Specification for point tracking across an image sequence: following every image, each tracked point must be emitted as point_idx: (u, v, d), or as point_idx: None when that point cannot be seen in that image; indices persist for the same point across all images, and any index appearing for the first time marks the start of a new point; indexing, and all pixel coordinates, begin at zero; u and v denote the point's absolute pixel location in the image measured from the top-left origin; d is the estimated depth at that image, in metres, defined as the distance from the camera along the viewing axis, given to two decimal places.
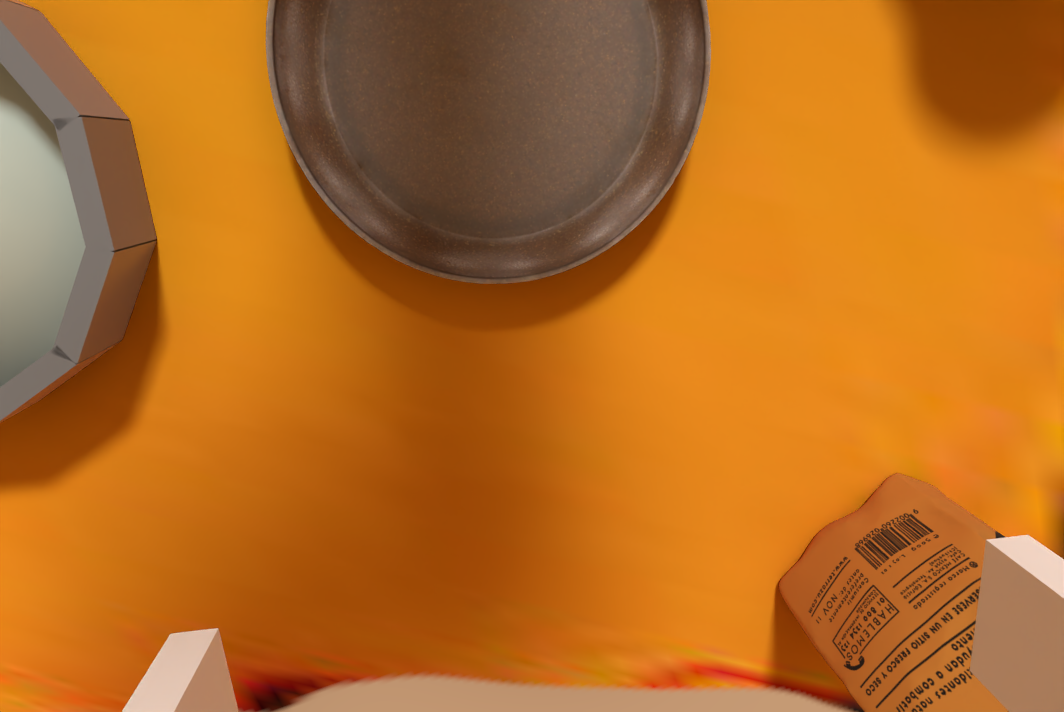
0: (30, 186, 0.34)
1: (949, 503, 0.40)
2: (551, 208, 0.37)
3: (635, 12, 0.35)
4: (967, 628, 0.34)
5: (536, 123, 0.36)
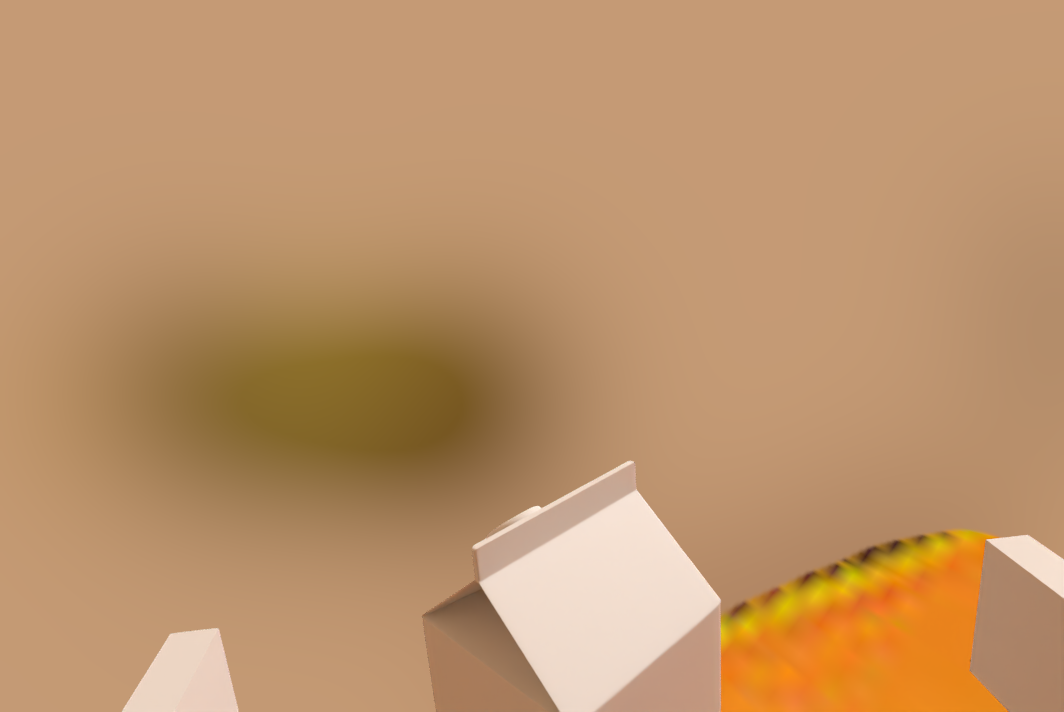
0: None
1: None
2: None
3: None
4: None
5: None
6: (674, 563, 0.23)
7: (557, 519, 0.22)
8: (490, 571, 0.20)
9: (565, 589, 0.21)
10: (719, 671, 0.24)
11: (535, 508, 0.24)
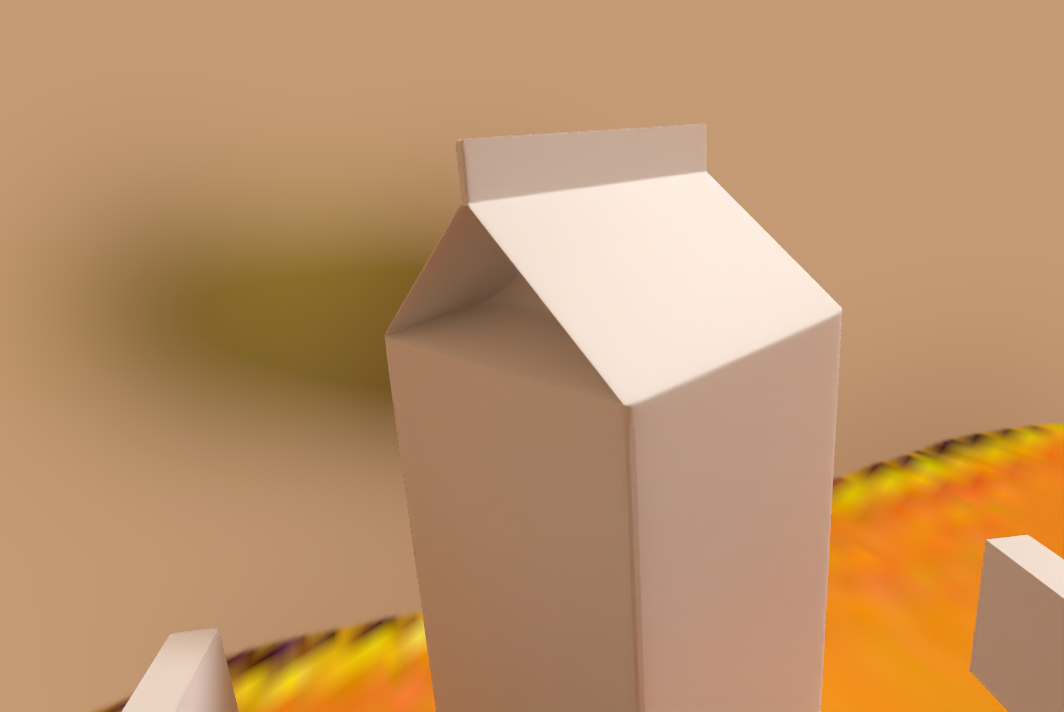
0: None
1: None
2: None
3: None
4: None
5: None
6: (769, 255, 0.15)
7: (594, 157, 0.14)
8: (487, 192, 0.12)
9: (608, 243, 0.13)
10: (833, 429, 0.16)
11: None
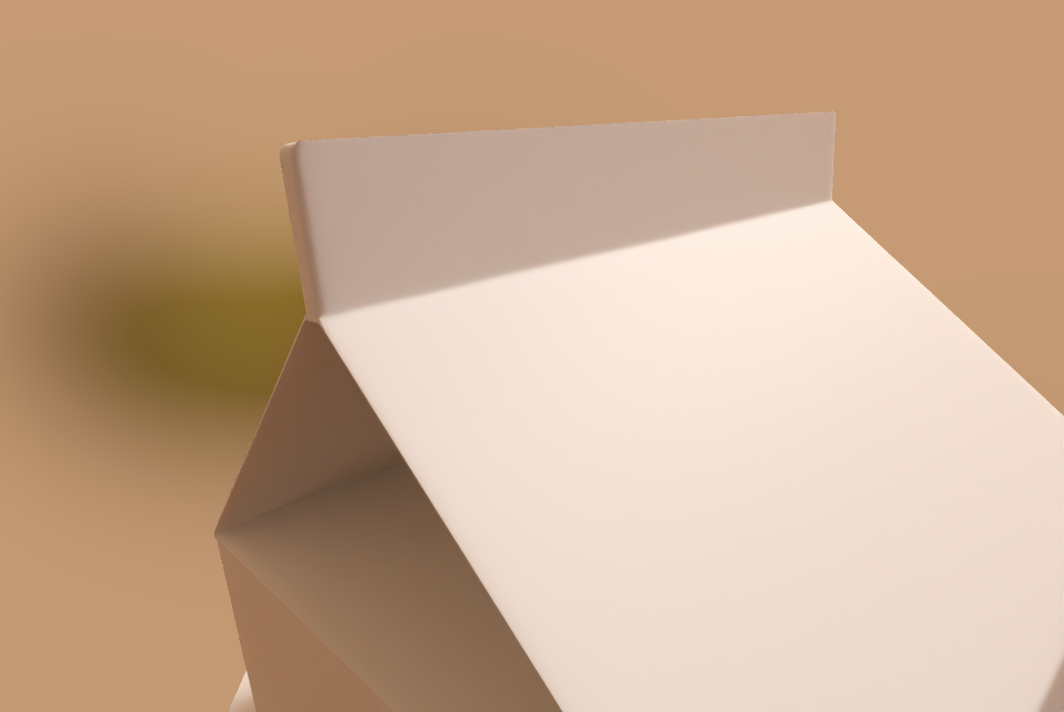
0: None
1: None
2: None
3: None
4: None
5: None
6: (984, 373, 0.08)
7: (639, 180, 0.06)
8: (376, 282, 0.05)
9: (684, 394, 0.05)
10: None
11: None
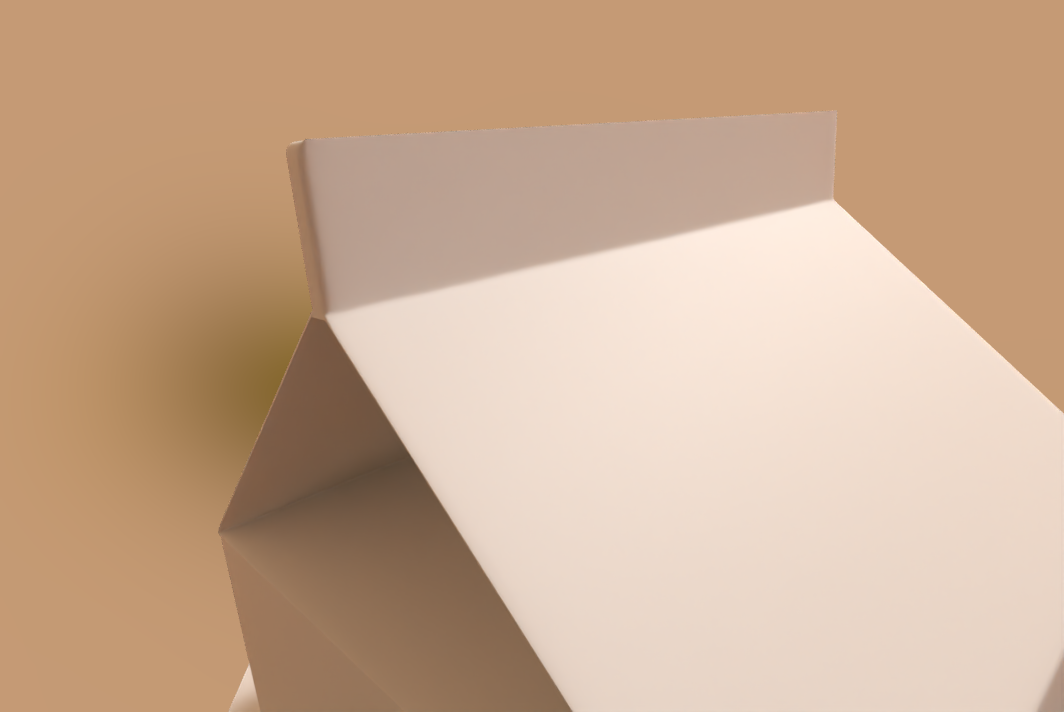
0: None
1: None
2: None
3: None
4: None
5: None
6: (985, 371, 0.08)
7: (642, 179, 0.06)
8: (382, 280, 0.05)
9: (687, 391, 0.05)
10: None
11: None
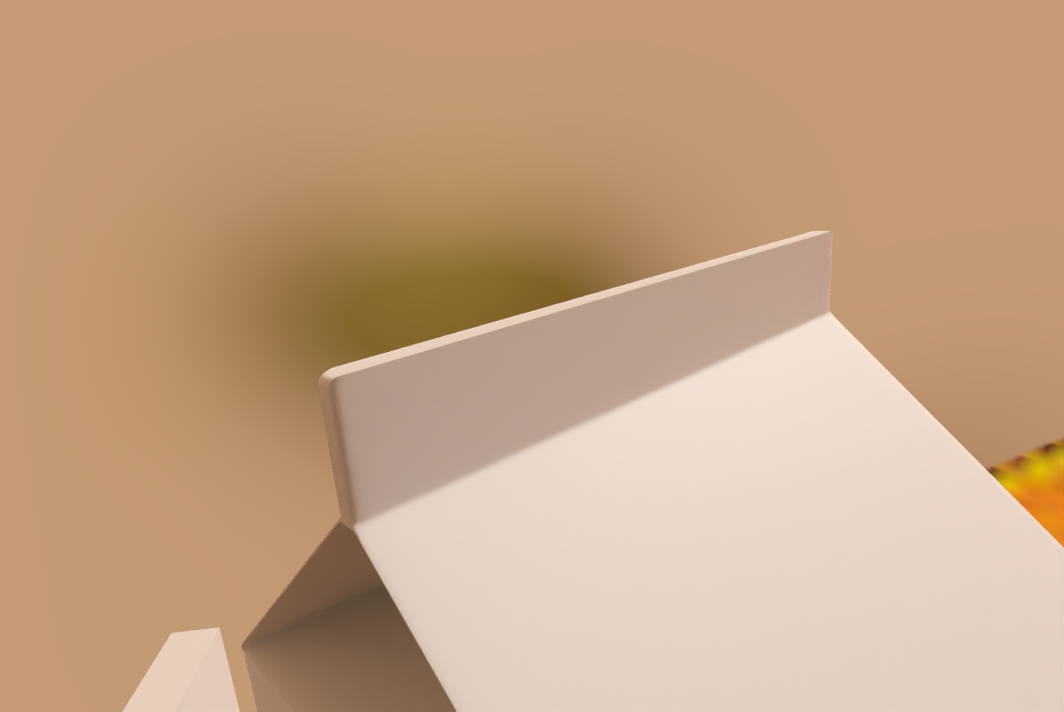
0: None
1: None
2: None
3: None
4: None
5: None
6: (974, 496, 0.08)
7: (646, 337, 0.07)
8: (404, 484, 0.05)
9: (689, 563, 0.06)
10: None
11: None
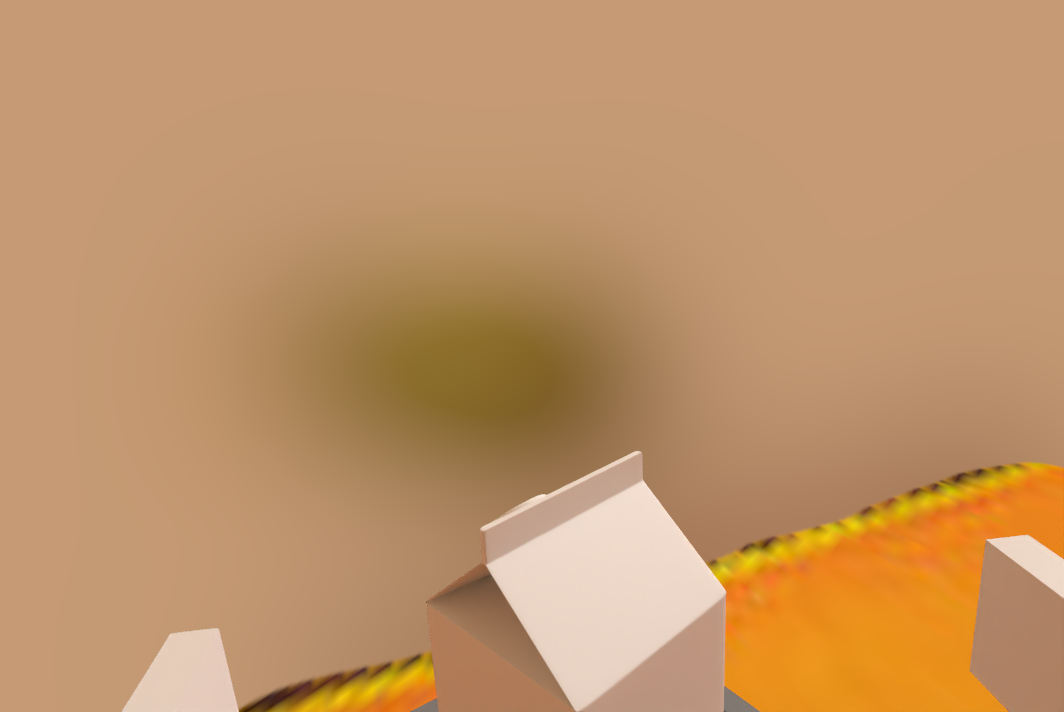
0: None
1: None
2: None
3: None
4: None
5: None
6: (680, 553, 0.23)
7: (564, 505, 0.22)
8: (497, 554, 0.20)
9: (571, 575, 0.21)
10: (722, 664, 0.24)
11: (541, 496, 0.24)
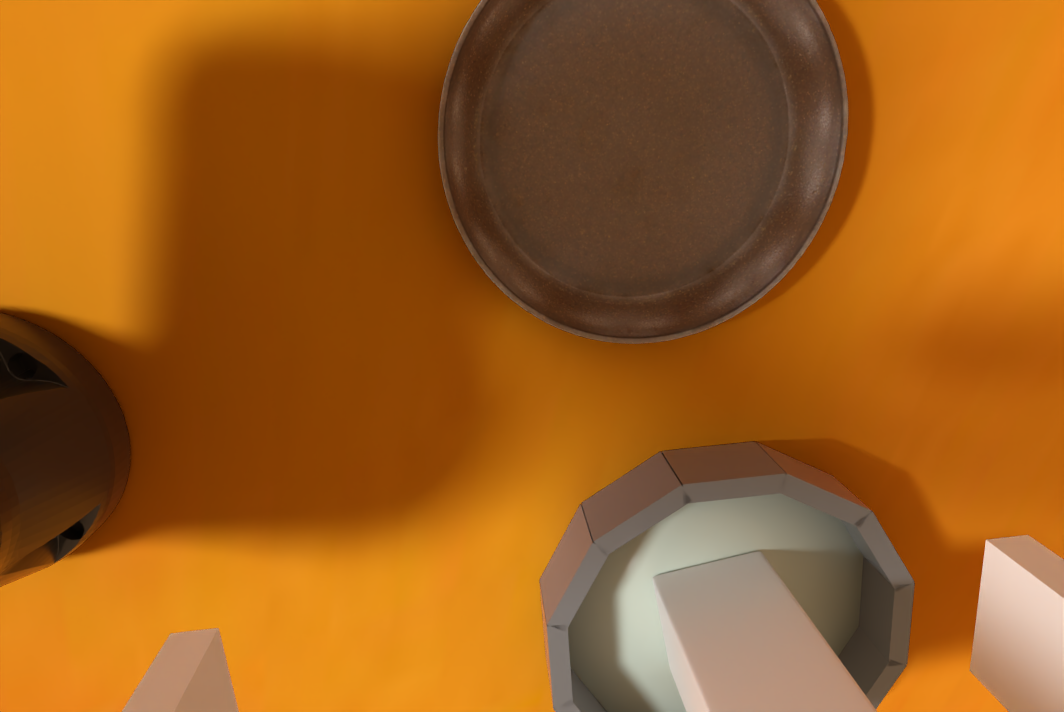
0: (710, 526, 0.43)
1: None
2: (765, 84, 0.37)
3: None
4: None
5: (684, 100, 0.37)
6: None
7: None
8: None
9: None
10: None
11: None
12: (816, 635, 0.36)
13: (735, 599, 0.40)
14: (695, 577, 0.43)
